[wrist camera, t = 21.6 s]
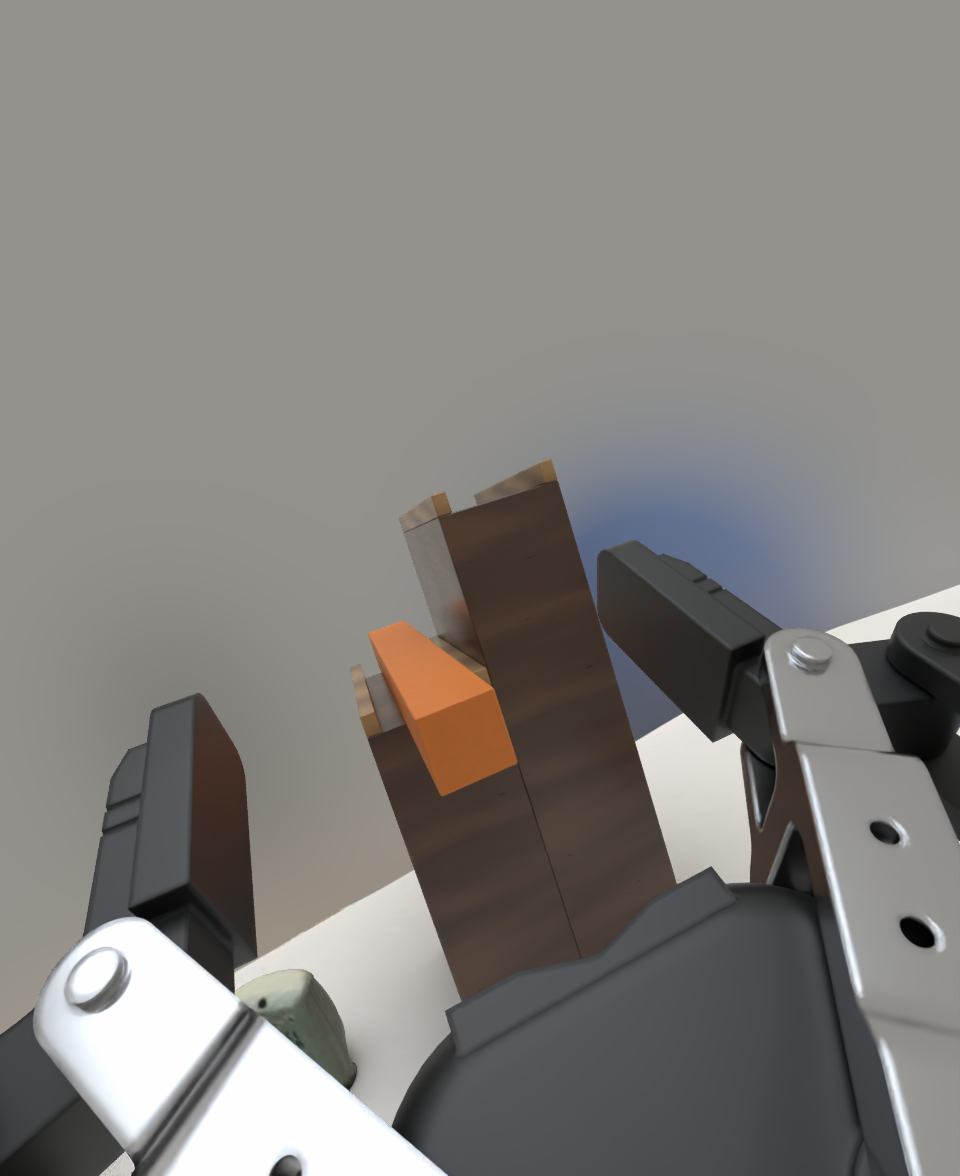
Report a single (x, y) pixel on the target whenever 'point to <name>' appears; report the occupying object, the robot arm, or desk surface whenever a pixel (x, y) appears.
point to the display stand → (521, 745)
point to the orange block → (443, 708)
